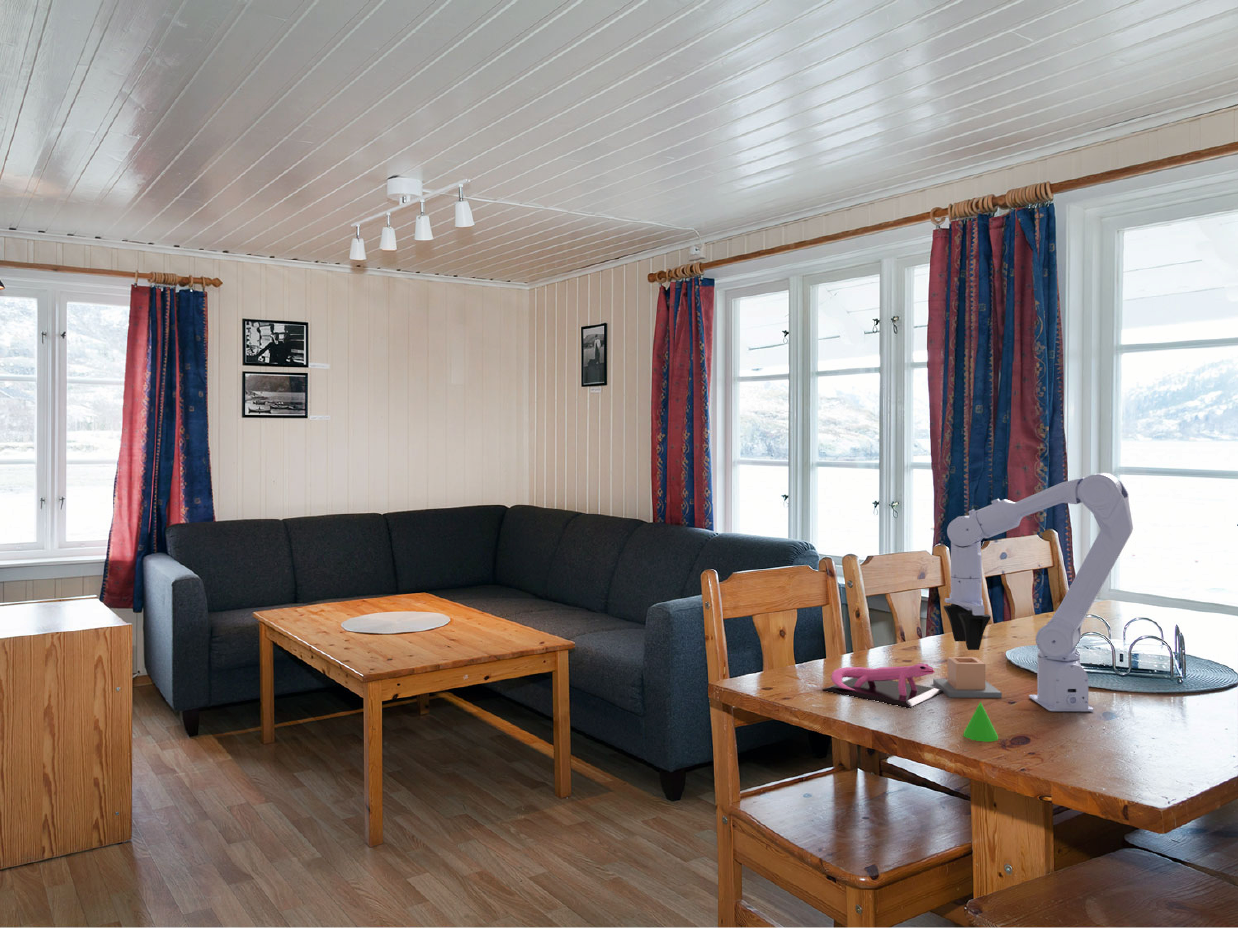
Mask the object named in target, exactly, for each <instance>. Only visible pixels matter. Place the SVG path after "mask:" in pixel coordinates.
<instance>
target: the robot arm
mask: <svg viewBox="0 0 1238 928" xmlns="http://www.w3.org/2000/svg"><path fill="white" fill-rule="evenodd" d="M1063 503H1064V504H1069V505H1079V504H1083V505H1084V507H1086V508H1087V509H1088V510H1089V512H1091V513H1092V514H1093V517H1094V519H1095V521H1096V523H1097V526H1098V527H1099V529H1100V530H1099V532H1098V534H1097V536H1096V538H1095V539H1094V540H1093V541H1094V542H1093V543H1092V545H1091V547H1090V548H1089V551H1088V553H1087V554H1086V556H1085V558H1084V560H1083V562H1082V564H1081V565H1080V568H1079V569H1078V571H1077V573H1076V574H1075V577H1074V579H1073V580H1072V582H1071V585H1070V586H1069V587H1068V590H1067V592H1066V593H1065V596H1064V597H1063V599H1062V601H1061V603H1060V605H1059V606H1058V607H1057V610H1056V611H1055V612H1054V614H1053V615H1052V617H1051V619H1050V620H1049V621H1048V622H1047V623H1046V624H1045V625H1043V626H1042V627H1041V628H1039V630H1038V631H1037V633H1036V635H1035V645H1036V647H1037V648H1038V651H1037V652H1036V653H1037V657H1036V658H1037V659H1036V660H1037V661H1036V662H1037V664H1036V665H1037V666H1036V667H1037V669H1036V670H1037V673H1036V675H1037V678H1036V679H1037V680H1036V682H1037V692H1036V693H1037V694H1029V695H1028V697H1029V698H1030V699H1031V700H1033V702H1035V703H1037V704H1039V705H1040V706H1041V707H1042V708H1044V709H1046V710H1047V711H1049V712H1094V708H1093V707H1092V706H1090V705H1089V676H1088V673H1087V672H1086V670H1085V669H1084V668H1083V666H1082V665H1081V664H1082V663H1080V654H1079V652H1078V651H1077V649H1075V646H1077V644H1078V643H1079V641H1080V639H1081V636H1082V631H1081V630H1082V626H1083V624H1084V622H1085V620H1086V617H1087V615H1088V614H1089V611H1090V609H1091V607H1092V606H1093V604H1094V602H1095V600H1096V598H1097V597H1098V595H1099V593H1100V591H1101V590H1102V587H1103V585H1104V584H1105V583H1106V580H1107V579H1108V576H1109V575H1110V573H1111V571H1112V570H1113V567H1114V566H1115V564H1116V563H1117V560H1118V558H1119V556H1120V555H1121V553H1122V551H1123V549H1124V548H1125V546H1126V544H1127V542H1128V540H1129V538H1130V537H1131V535H1132V533H1133V529H1134V526H1133V525H1134V524H1133V519H1132V514H1131V507H1130V501H1129V492H1128V491H1127V489H1126V487H1125V486H1124V484H1123V482H1122V481H1121V480H1120V478H1119V477H1117V476H1116V475H1115V474H1112V473H1110V472H1098V473H1093V474H1090V475H1087V476H1085V477H1079V478H1076V479H1075V478H1074V479H1072V480H1067V481H1063V482H1059V483H1058V484H1055V485H1053V486H1051V487H1048V488H1046V489H1043V490H1041V491H1038V492H1037V493H1035V494H1032V495H1029V496H1027V497H1025V498H1022V499H1020V500H1018V501H1015V502H1014V501H1012V500H1010V499H1009V500H1008V499H1006V498H1005V499H1002V500H1000V498H997V499H993V500H991V504H989V505H987V506H985V507H982V508H980V509H977V510H975V509H971V510H969V511H968V515H962V516H961V515H959V516H956V518H954V519H952V520H951V522H949V524H948V526H947V529H946V534H947V537H948V539H949V541H950V592H949V598H948V597H946V598H944V602H945V603H946V604H945V605H943V609H944V611H945V612H946V613H945V614H946V615H947V617H948V620H949V624H950V628H951V632H952V633H951V634H952V636H953V640H954V642H965V644H966V650H968V651H979V650H980V648H981V646H982V645H981V644H982V640H983V637H984V632H985V630H986V627H987V626H988V624H989V622H990V621H991V615H990V614H988V613H987V614H985V604H984V599H983V594H982V593H983V590H982V589H983V583H982V581H983V576H982V575H983V574H982V573H983V572H982V571H983V570H982V566H983V565H982V559H983V558H982V546H981V545H982V542H981V541H982V540H983V539H990V538H992V537H994V536H997V535H999V534H1002V533H1005V532H1007V531H1011V530H1012V529H1016V528H1018V527H1019V526H1020V524H1021V521H1022V519H1023V518H1024V517H1027V516H1029V515H1031V514H1032V515H1033V514H1035V513H1038V512H1040V511H1044V510H1045V509H1049V508H1052V507H1054V506H1056V505H1060V504H1063ZM947 604H949V605H947Z"/></svg>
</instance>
